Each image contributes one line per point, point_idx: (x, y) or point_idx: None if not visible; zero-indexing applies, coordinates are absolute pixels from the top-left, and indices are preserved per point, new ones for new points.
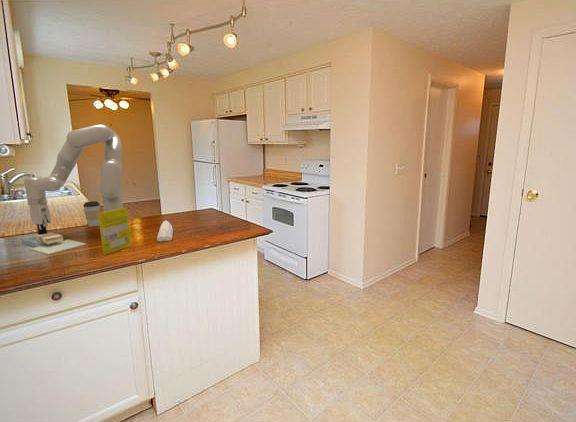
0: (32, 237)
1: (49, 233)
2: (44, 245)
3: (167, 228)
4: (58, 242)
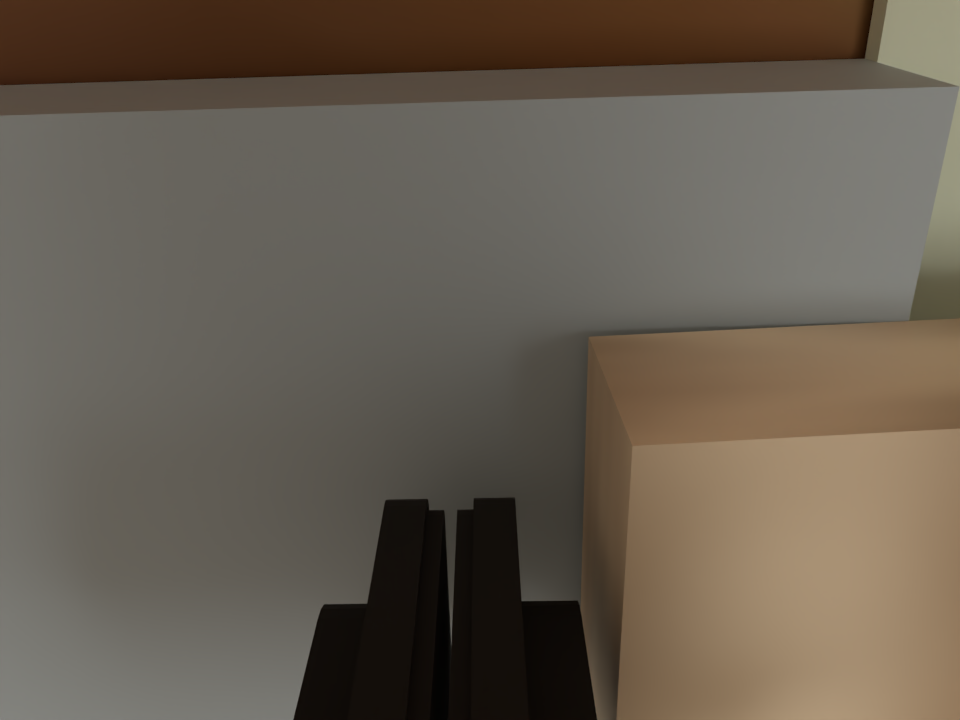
0: (22, 648)
1: (754, 576)
2: None
3: None
4: (932, 264)
